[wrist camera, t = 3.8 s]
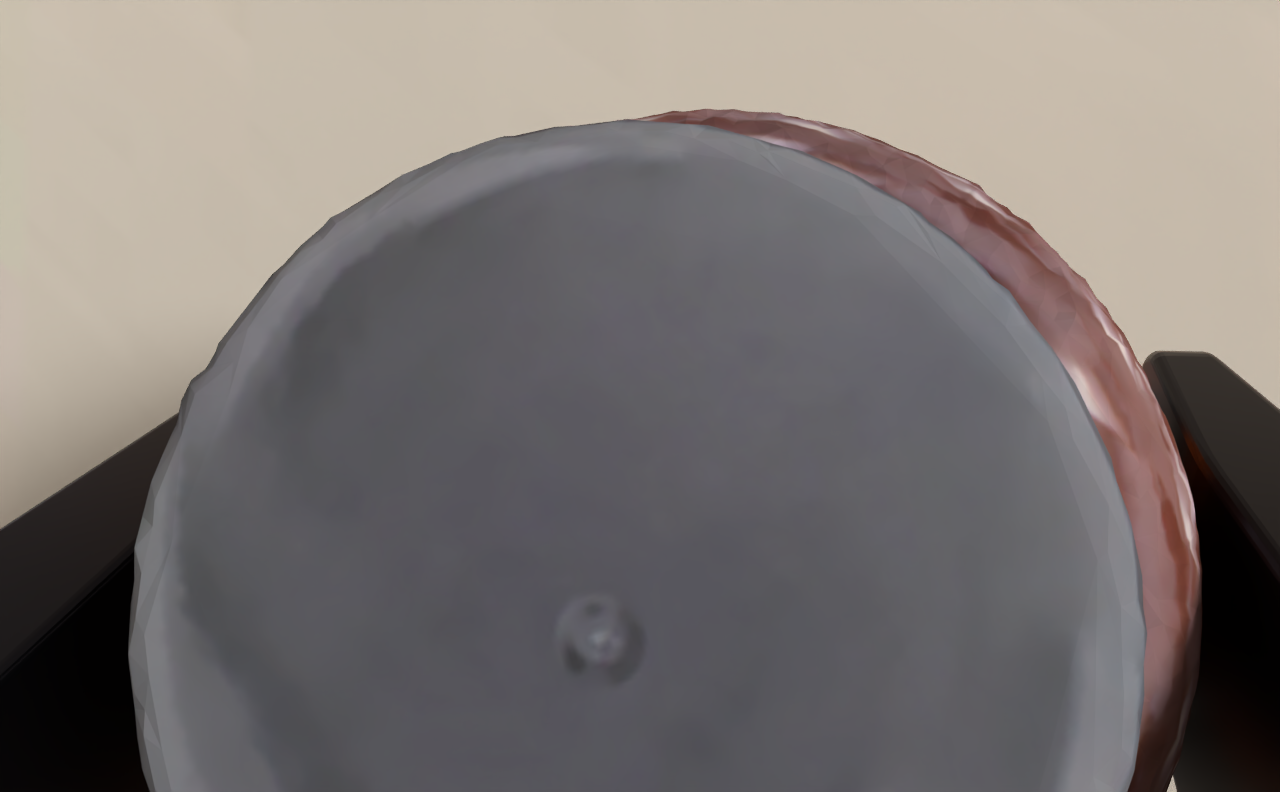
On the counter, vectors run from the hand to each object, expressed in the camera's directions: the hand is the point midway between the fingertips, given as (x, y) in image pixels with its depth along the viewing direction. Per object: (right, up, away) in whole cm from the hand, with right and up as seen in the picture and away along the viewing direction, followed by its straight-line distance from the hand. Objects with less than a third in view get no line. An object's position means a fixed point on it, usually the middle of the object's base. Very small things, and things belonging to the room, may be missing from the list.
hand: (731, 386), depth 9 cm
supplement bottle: (+1, -2, +7) cm, 7 cm away
